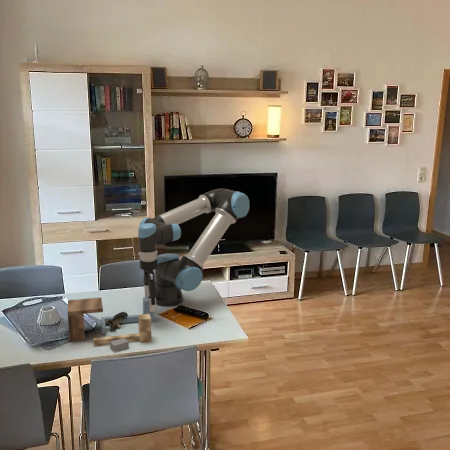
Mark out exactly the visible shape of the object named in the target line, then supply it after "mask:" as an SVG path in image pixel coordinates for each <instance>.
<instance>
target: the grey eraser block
mask: <svg viewBox="0 0 450 450" xmlns="http://www.w3.org/2000/svg"><path fill="white" fill-rule="evenodd" d="M129 343H130V342H128V341H127V340H126V339H125V338H121V339H118V340H114V341H111V342H110V345H109V348H110V349H111V350H112V352H113V353H118V352H120V351H123V350H128V349H129V348H130V346H129Z"/></svg>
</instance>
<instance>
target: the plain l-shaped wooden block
mask: <svg viewBox="0 0 450 450" xmlns="http://www.w3.org/2000/svg"><path fill="white" fill-rule="evenodd" d="M142 314H143V313H142ZM142 314H137V315H138V319H139V322H138V333H130V334H120V335H111V336H101V337H93V347H101V346H108V345H109V346H110V342H111V341H114V340H118V339H121V338H125V339H126V340H127V341H128V342H129V343H135V342H139V343H146V342H147V343H149V342H152V322H151V317H150V314H143V315H142Z"/></svg>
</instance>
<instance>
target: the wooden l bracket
mask: <svg viewBox="0 0 450 450" xmlns="http://www.w3.org/2000/svg"><path fill="white" fill-rule="evenodd" d="M103 307H104V306H103V301H102V297H101V296H100V297H92V298H91V297H89V298H78V299H67V320H68V322H67V323H68V324H67V325H68V336H69V337H68V339H69V343H73V342H74V343H75V342H82V341H86V336H85V335H86V334H85V333H86V332H85V315H86V314H87V315H88V314H98V313H103V312H104V308H103Z"/></svg>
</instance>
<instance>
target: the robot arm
mask: <svg viewBox="0 0 450 450" xmlns="http://www.w3.org/2000/svg"><path fill="white" fill-rule="evenodd" d="M250 207H251V206H250V199H249V197H248V195H246V194H245V193H244V192H241V191H236V190H231V189H227V188H217V189H216V188H215V189H212V190H210V191H208V192H205V193H202V194H200V195H199V196H198V198H196V199H194V200H192V201H191V200H190V201H189V202H187V203H185V204H182V205H180V206H177V207H176V208H173V209H170V210H169V211H167V212H164V213H161V214H159V215H157V216H155V217H144V218H143V219H141V221H140V222H139V226H138V230H137V233H138V234H137V237H138V251H139V252H138V253H137V255H138V256H139V259H140V260H139V269H140V270H143V286H144V297H148V298H149V302H150V312H153V311H154V312H157V306H160V307H173V306H177V305H180V304H181V303H182V302H183V301H184V294H183V291H186V292H191V291H193V290H194V291H195V290H196V289H197V288H198V287H199V286H200V285H201V283H202V281H203V277H204V275H203V271H204V269H205V268H204V264H205V262H206V261H207V260H208V258H209V256H210V255H211V254H212V252H213V250H215V248H216V246H217V245H218V243H219V242H220V240H221V238H222V237H223V236H224V234H225V233H226V231H227V230H228V229H229V227H230V225H232V224H235V223H236V222H237V221H238V219H241V218H245V217H246V216H247V215H248V213H249V210H250ZM212 212H215V214H214V216H213V217H212V219H211V220H210V221H209V223H208V225H207V226H206V227H205V229H204V230H203V232H202V233H201V234H200V236H199V238H198V239H197V240H196V242H195V243H194V245H193V246H192V247H191V249H190V250H189V252H188V253H187V254H183V255H182V256H181V257H180V255H179V254H178V253H162V254H159V255H158V245H161V244H166V243H171V242H174V241H177V240H179V239H180V238H181V235H182V231H181V227H180V226H179V225H180V224H183V223H185V222H187V221H189V220H192V219H194V218H196V217H198V216H200V215H202V214H204V213H205V214H209V213H212Z"/></svg>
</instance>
